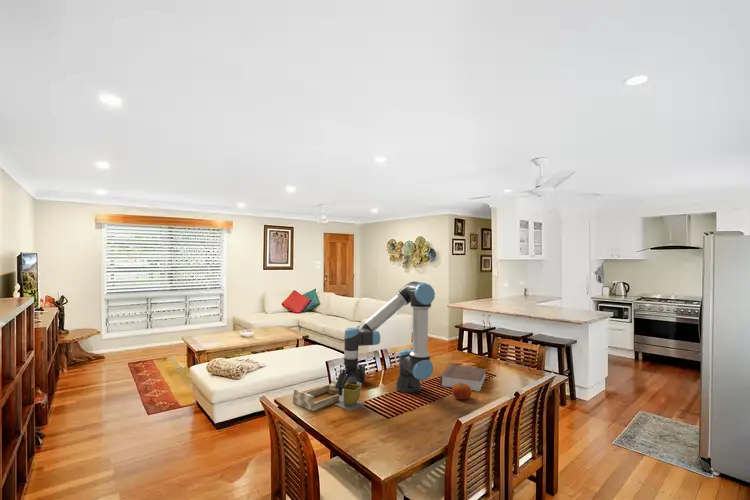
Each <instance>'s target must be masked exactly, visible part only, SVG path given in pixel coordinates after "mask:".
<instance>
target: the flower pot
mask: <svg viewBox="0 0 750 500" xmlns="http://www.w3.org/2000/svg"><path fill="white" fill-rule="evenodd" d="M343 389H344V402H343V403H344V404H346V405H351V406H353V405H354V404H355V403H357V401H359V398H360V396H361V395H360V392H361V393H362V388H361V386H360V385H357V384H355V383H347V382H346V384H345V385H344V387H343Z"/></svg>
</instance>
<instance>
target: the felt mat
mask: <svg viewBox="0 0 750 500" xmlns="http://www.w3.org/2000/svg"><path fill="white" fill-rule="evenodd" d="M333 405H334V406H336V407H338V408H342V409H344V410H347V411H349V412H352V411H353V410H356V409H359V408H361V407H364V406H367V403H365V402H362V401H359V400H358V401H357V403H355V404H354V405H353V406H351V405H346V404H344V403H343V402H341V401H338V402H335V403H333Z"/></svg>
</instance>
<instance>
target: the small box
mask: <svg viewBox="0 0 750 500" xmlns="http://www.w3.org/2000/svg"><path fill="white" fill-rule="evenodd" d="M359 364H360V363H359ZM360 365H361V369H362V372H363V375H364V378H365V380H363V381H364V382H363V383H362V385H363V384H365V382H366V364H365V363H364V364H363V363H362V364H360ZM357 372H358V371H357ZM347 382H350V383H349V384H357V382H358V380H357V379H356V377H355V376H354V375H351V376H350V377H349V378H348V379H347V381H346V383H347Z"/></svg>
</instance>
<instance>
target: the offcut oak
mask: <svg viewBox="0 0 750 500" xmlns="http://www.w3.org/2000/svg"><path fill="white" fill-rule="evenodd" d="M329 384H330V388H329V390H337V391H338V390H339V389H337V388H335V387H336V385H334V384H333V382H331V383H329Z"/></svg>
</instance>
